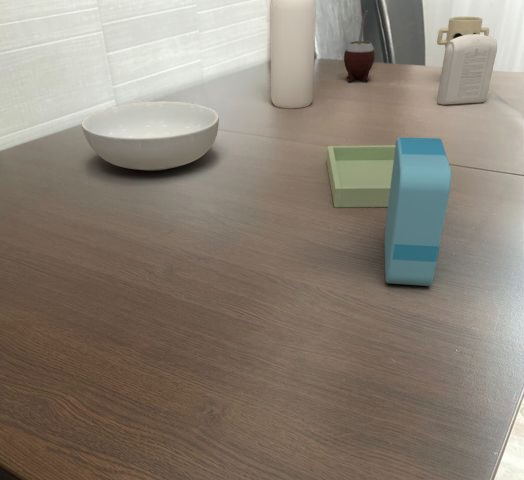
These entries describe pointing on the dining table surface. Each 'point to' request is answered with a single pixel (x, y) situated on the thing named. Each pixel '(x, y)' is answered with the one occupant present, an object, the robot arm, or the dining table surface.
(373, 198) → the shallow green tray
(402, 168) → the data package
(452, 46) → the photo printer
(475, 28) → the character mug
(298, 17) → the alcohol
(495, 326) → the dining table surface
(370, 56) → the mate gourd
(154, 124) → the serving bowl
